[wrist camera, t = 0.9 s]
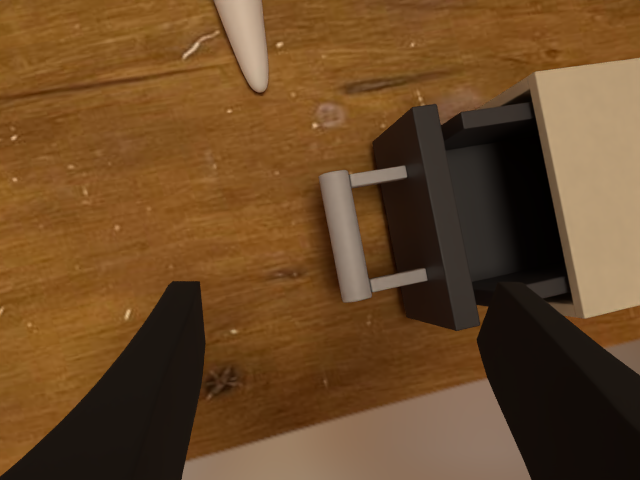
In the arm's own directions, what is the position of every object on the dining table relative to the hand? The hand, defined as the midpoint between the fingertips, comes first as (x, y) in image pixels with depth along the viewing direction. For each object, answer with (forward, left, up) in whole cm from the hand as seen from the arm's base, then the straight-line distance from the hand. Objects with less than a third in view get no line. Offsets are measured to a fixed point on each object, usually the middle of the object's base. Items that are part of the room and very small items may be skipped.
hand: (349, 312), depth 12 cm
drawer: (+6, -9, -14) cm, 18 cm away
